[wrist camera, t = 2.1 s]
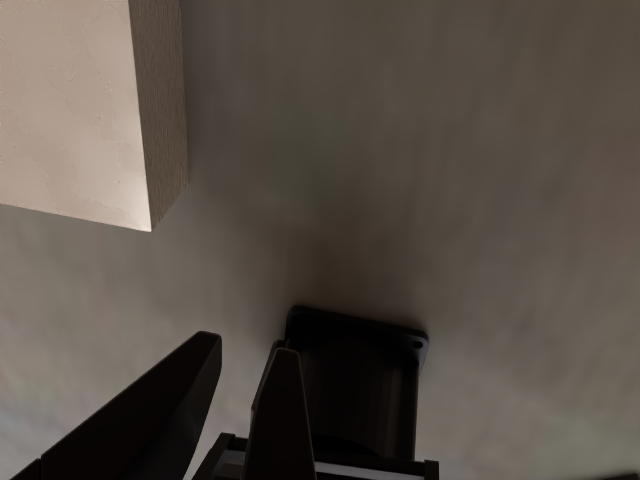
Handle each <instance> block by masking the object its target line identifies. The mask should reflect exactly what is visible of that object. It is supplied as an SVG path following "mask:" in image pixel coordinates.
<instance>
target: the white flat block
mask: <svg viewBox="0 0 640 480" xmlns="http://www.w3.org/2000/svg"><path fill="white" fill-rule="evenodd" d="M188 183H189V173H188V153H187V133H186V113H185V92H184V72H183V52H182V32H181V12H180V0H0V203H1V204H7V205H12V206H17V207H22V208H28V209H33V210H38V211H43V212H48V213H54V214H59V215H64V216H69V217H75V218H80V219H85V220H90V221H96V222H101V223H106V224H111V225H116V226H122V227H127V228H132V229H137V230H143V231H148V232H152V231H153V229H154V228H155V227H156V225H157V224H158V223H159V222H160V220H161V219H162V218H163V216H164V215H165V214H166V212H167V211H168V210H169V208H170V207H171V206H172V204H173V203H174V202H175V200H176V199H177V198H178V196H179V195H180V194H181V192H182V191H183V190H184V188H185V187H186V186H187V184H188Z"/></svg>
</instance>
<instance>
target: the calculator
mask: <svg viewBox="0 0 640 480" xmlns="http://www.w3.org/2000/svg"><path fill="white" fill-rule="evenodd" d="M605 480H640V478H639V476H638V475H637V474H632V475H627V476H621V477H616V478H611V479H605Z"/></svg>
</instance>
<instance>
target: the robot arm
mask: <svg viewBox="0 0 640 480" xmlns="http://www.w3.org/2000/svg"><path fill="white" fill-rule="evenodd" d="M296 316H300V317H302V318H298V317H296ZM415 341H421V342H415ZM428 347H429V337H428V335H427V334H426V333H425V332H423V331H420V330H415V329H410V328H405V327H400V326H395V325H391V324H386V323H381V322H376V321H371V320H366V319H362V318H357V317H352V316H347V315H342V314H337V313H333V312H328V311H323V310H318V309H313V308H308V307H304V306H293V307H291V308H290V310H289V313H288V316H287V322H286V332H285V341H283V340H277V341H276V342H274V343H273V346H272V349H271V352H270V355H269V358H268V360H267V363H266V366H265V369H264V372H263V375H262V378H261V381H260V384H259V387H258V389H257V392H256V395H255V398H254V401H253V404H252V407H251V422H250V433H249V438H242V437H236V436H235V434H230V433H221V434H220V435H219V437H218V439H217V440H216V442H215V444H214V445H213V447H212V448H211V449H210V450H209V452H208V453H207V455H206V457H205V458H204V460H203V462H202V463H201V465H200V467H199V468H198V470H197V472H196V473H195V475H194V476H193V478H192V480H439V461H431V460H424V462H421V461H415V441H416V422H417V402H418V383H419V375H420V372H421V369H422V366H423V363H424V360H425V357H426V353H427V350H428ZM221 367H222V339H221V336H220V335H218V334H215V333H211V332H206V331H198V332H197V333H195V334H194V335H193V336H191V337H190V338H189V339H188V340H186V341H185V342H184V343H182V344H181V345H180V346H179V347H177V348H176V349H175V350H174V351H172V352H171V353H170V354H169V355H167V356H166V357H165V358H164V359H162V360H161V361H160V362H158V363H157V364H156V365H155V366H153V367H152V368H151V369H150V370H148V371H147V372H146V373H145V374H143V375H142V376H141V377H139V378H138V379H137V380H136V381H134V382H133V383H132V384H131V385H129V386H128V387H127V388H126V389H124V390H123V391H122V392H120V393H119V394H118V395H117V396H115V397H114V398H113V399H112V400H110V401H109V402H108V403H107V404H105V405H104V406H103V407H102V408H100V409H99V410H98V411H96V412H95V413H94V414H93V415H91V416H90V417H89V418H88V419H86V420H85V421H84V422H83V423H81V424H80V425H79V426H77V427H76V428H75V429H74V430H72V431H71V432H70V433H69V434H67V435H66V436H65V437H64V438H62V439H61V440H60V441H58V442H57V443H56V444H55V445H53V446H52V447H51V448H50V449H48V450H47V451H46V452H45V453H43V454H42V455H41V460H40V459H39V458H37V459H35V460H34V461H33V462H32V463H30V464H29V465H28V466H27V467H25V468H24V469H23V470H22V471H20V472H19V473H18V474H16V475H15V476H14V477H12V478H11V479H10V480H183V478H184V475H185V473H186V471H187V469H188V467H189V464H190V462H191V460H192V457H193V455H194V453H195V450H196V447H197V444H198V441H199V438H200V435H201V432H202V429H203V426H204V423H205V420H206V417H207V414H208V411H209V407H210V404H211V401H212V398H213V395H214V392H215V389H216V386H217V383H218V380H219V377H220V373H221Z"/></svg>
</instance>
